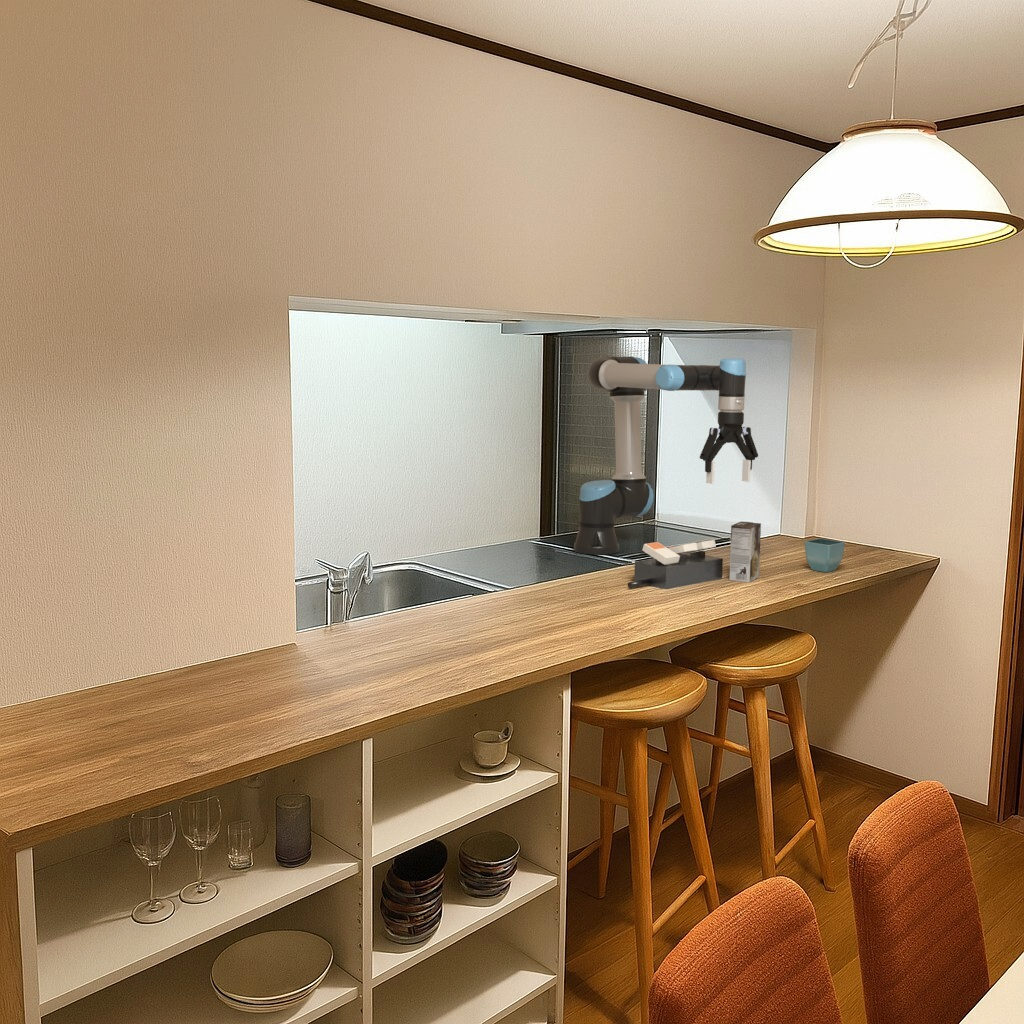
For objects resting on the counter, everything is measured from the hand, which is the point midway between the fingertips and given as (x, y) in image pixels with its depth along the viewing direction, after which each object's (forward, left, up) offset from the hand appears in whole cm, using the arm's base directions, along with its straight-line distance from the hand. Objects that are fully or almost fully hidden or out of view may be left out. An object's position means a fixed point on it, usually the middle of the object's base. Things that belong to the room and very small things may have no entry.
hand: (728, 482), depth 293 cm
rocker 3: (+2, -15, -19) cm, 24 cm away
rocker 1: (+2, -31, -19) cm, 36 cm away
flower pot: (+19, +23, -27) cm, 40 cm away
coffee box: (+12, -6, -27) cm, 30 cm away
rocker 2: (+2, -23, -19) cm, 29 cm away
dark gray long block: (+2, -27, -27) cm, 38 cm away
